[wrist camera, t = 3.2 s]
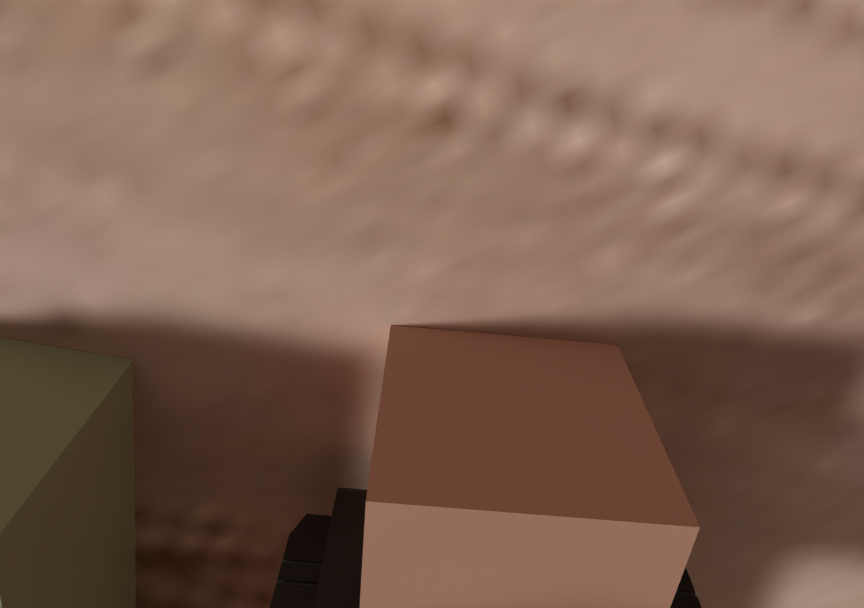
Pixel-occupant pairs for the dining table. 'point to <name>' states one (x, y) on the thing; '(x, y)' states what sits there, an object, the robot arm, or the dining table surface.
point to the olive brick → (66, 478)
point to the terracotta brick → (518, 479)
